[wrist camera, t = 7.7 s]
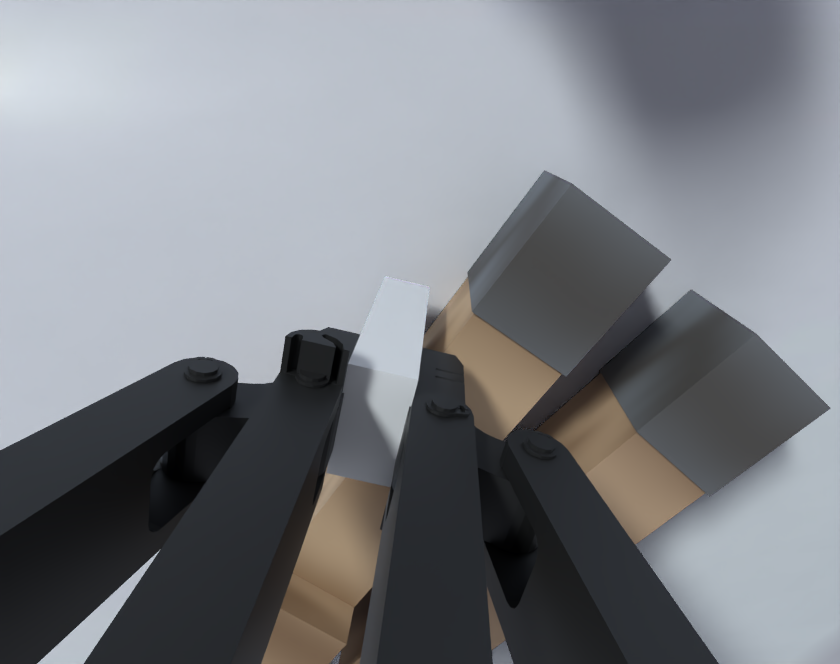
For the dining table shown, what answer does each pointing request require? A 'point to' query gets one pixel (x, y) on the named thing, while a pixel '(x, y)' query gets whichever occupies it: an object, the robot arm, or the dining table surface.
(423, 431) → the robot arm
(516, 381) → the bar
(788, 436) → the tongs lower arm
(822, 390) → the dining table surface
